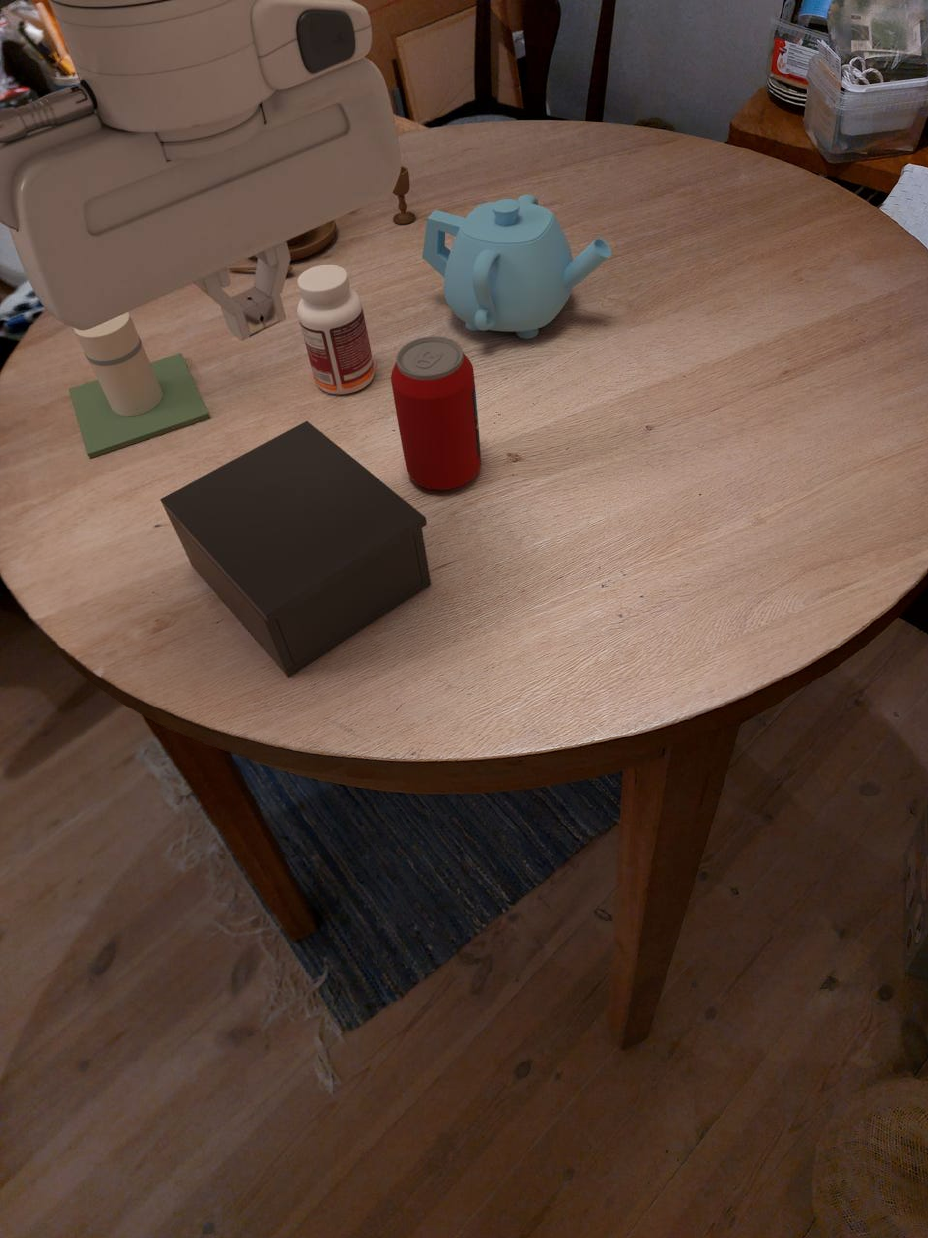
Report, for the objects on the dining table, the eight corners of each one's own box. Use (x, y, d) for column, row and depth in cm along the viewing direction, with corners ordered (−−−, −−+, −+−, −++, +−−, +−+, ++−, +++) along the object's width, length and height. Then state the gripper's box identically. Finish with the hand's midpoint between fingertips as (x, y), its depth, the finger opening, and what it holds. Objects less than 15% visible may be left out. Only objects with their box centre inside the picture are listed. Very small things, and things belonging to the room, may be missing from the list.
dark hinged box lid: (427, 525, 64) (425, 517, 63) (268, 623, 59) (265, 616, 58) (309, 428, 73) (306, 420, 72) (163, 506, 68) (159, 499, 67)
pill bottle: (377, 357, 90) (358, 256, 82) (374, 394, 86) (354, 291, 78) (317, 362, 90) (292, 262, 82) (312, 399, 87) (286, 298, 78)
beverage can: (496, 459, 79) (488, 343, 69) (455, 505, 75) (441, 390, 66) (434, 438, 81) (418, 323, 72) (392, 481, 78) (370, 367, 69)
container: (119, 423, 86) (80, 343, 79) (105, 396, 89) (66, 317, 82) (170, 403, 87) (136, 323, 80) (154, 378, 90) (121, 298, 83)
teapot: (400, 344, 91) (382, 234, 82) (458, 263, 101) (448, 157, 92) (584, 373, 86) (587, 259, 76) (628, 285, 95) (635, 174, 86)
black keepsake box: (431, 584, 70) (421, 523, 64) (288, 678, 65) (264, 621, 60) (325, 489, 78) (309, 428, 73) (191, 566, 73) (163, 507, 68)
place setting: (275, 204, 114) (263, 157, 110) (419, 211, 109) (413, 163, 105) (217, 274, 104) (201, 226, 99) (374, 286, 99) (365, 236, 95)
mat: (89, 458, 84) (87, 453, 83) (71, 393, 91) (68, 388, 90) (210, 418, 86) (208, 413, 86) (182, 357, 93) (180, 352, 93)
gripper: (-28, 150, 34) (114, 435, 44) (397, 0, 41) (431, 277, 51) (-76, 108, 37) (66, 382, 48) (324, -23, 44) (370, 241, 55)
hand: (258, 326), depth 49 cm, fingers closed
